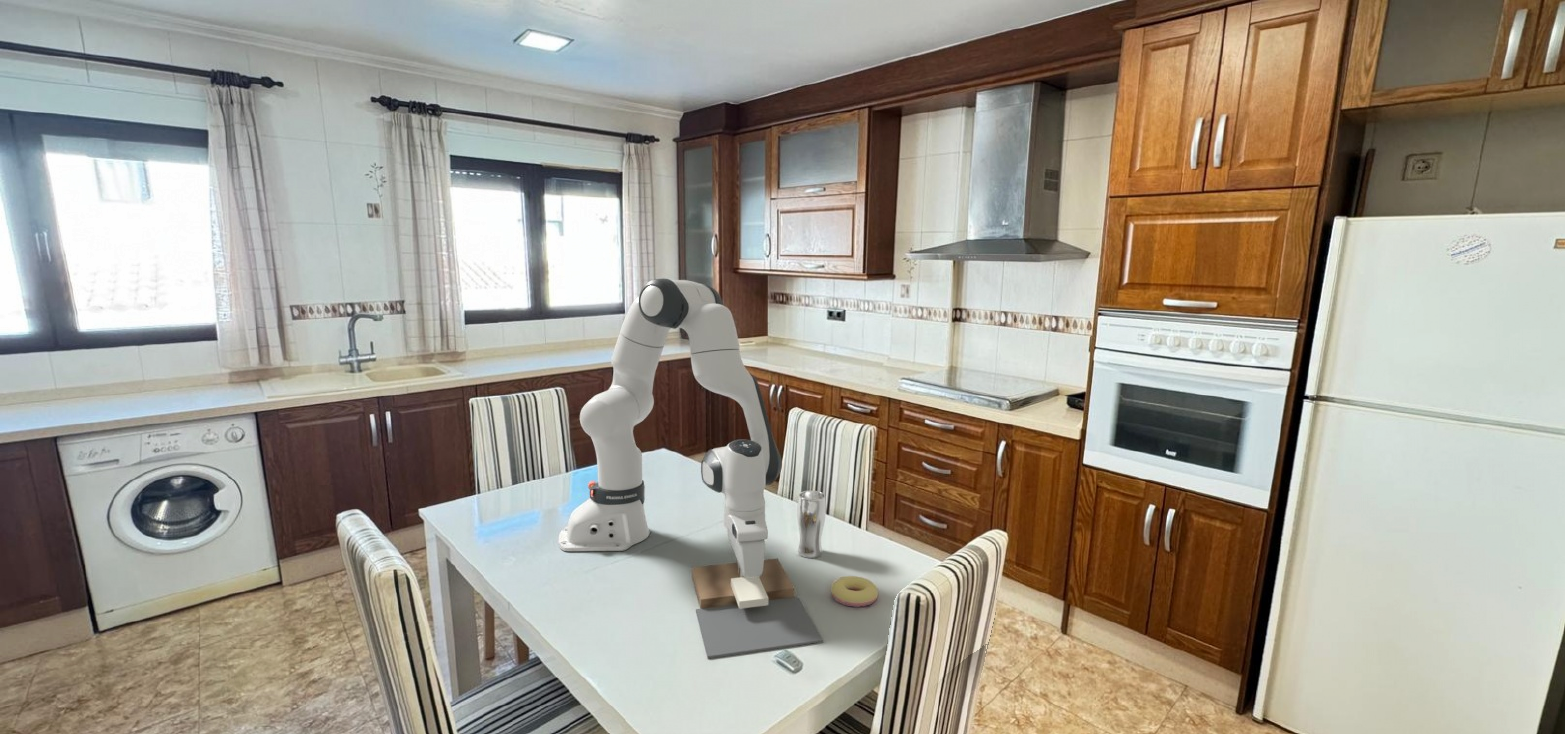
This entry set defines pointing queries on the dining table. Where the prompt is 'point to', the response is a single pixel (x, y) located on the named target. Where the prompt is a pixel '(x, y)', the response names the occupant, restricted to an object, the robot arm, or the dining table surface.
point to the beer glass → (811, 522)
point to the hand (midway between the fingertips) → (743, 576)
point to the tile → (749, 592)
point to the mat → (756, 627)
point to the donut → (854, 591)
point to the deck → (717, 578)
